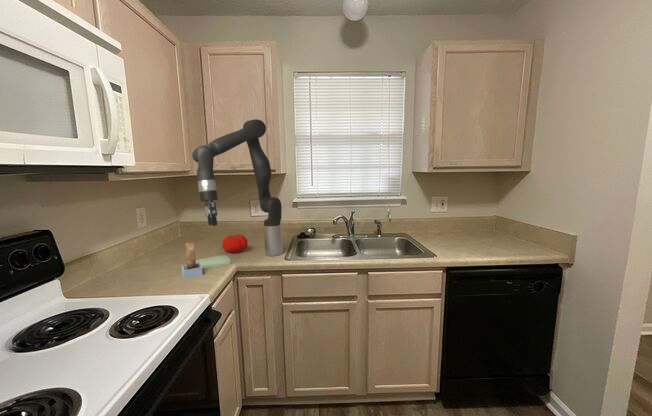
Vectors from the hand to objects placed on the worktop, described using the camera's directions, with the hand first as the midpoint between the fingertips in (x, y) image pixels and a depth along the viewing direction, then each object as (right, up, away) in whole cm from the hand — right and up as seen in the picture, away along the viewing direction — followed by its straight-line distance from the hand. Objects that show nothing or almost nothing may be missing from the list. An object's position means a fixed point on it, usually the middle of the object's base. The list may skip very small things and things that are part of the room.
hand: (212, 225), depth 126 cm
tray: (-7, -22, +16) cm, 28 cm away
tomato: (-3, -19, +40) cm, 44 cm away
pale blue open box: (-10, -24, +1) cm, 26 cm away
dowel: (-10, -23, +1) cm, 25 cm away
